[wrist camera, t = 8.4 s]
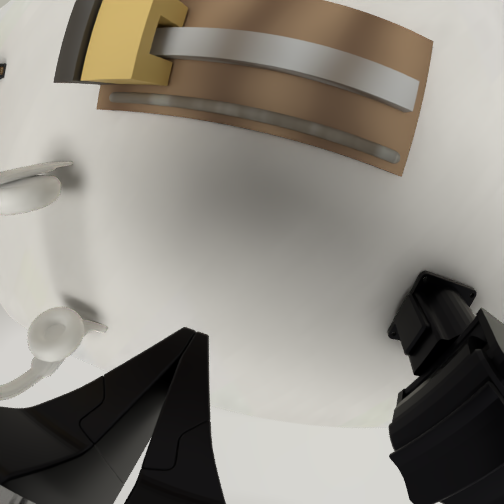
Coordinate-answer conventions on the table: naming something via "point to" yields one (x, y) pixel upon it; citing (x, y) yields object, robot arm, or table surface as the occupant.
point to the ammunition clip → (2, 70)
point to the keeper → (130, 41)
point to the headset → (56, 319)
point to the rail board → (278, 73)
